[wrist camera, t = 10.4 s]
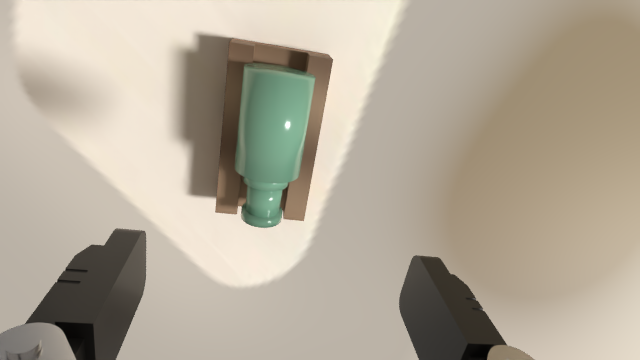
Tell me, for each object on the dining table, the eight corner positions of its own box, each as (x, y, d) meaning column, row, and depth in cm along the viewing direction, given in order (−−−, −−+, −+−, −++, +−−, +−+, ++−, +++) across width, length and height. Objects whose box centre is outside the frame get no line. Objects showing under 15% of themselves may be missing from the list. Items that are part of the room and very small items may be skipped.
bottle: (244, 60, 24) (243, 72, 20) (310, 70, 25) (320, 83, 21) (231, 200, 28) (228, 231, 24) (289, 204, 29) (294, 235, 25)
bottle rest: (232, 38, 25) (229, 42, 23) (328, 54, 26) (332, 59, 24) (219, 197, 29) (215, 212, 27) (301, 205, 30) (303, 220, 28)
